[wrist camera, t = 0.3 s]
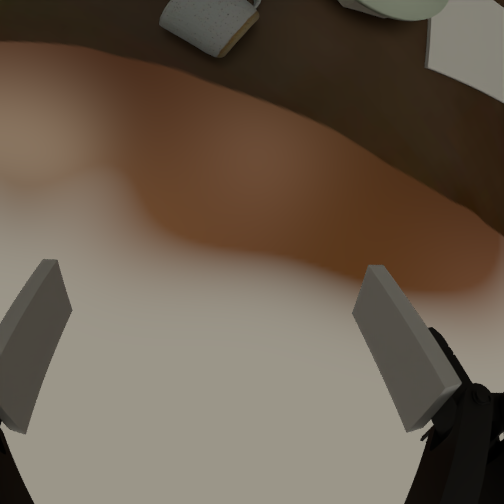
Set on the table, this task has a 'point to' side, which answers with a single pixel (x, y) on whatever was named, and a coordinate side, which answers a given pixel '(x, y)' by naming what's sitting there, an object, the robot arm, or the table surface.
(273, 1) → the table surface
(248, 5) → the ceramic mug
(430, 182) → the table surface
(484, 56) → the mat
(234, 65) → the table surface
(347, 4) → the bowl
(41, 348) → the robot arm
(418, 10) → the lid
